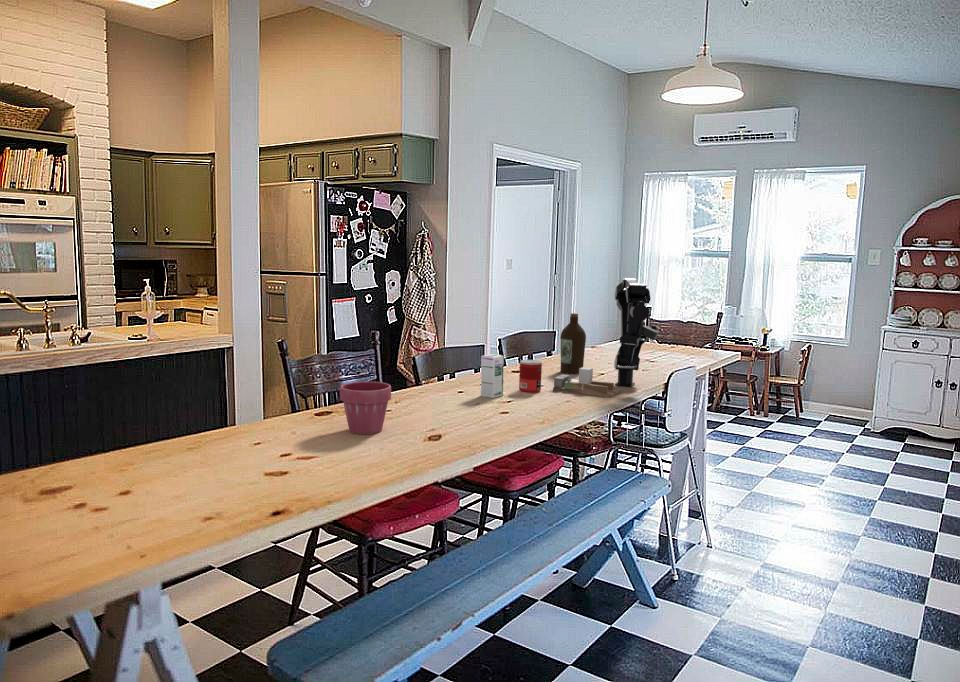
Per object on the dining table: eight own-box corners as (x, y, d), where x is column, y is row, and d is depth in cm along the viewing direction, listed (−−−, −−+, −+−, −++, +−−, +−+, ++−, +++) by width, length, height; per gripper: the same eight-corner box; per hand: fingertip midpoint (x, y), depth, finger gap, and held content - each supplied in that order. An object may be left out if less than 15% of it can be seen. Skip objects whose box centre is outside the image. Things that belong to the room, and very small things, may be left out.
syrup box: (493, 398, 247) (494, 357, 246) (479, 395, 251) (481, 355, 249) (503, 396, 252) (504, 355, 250) (489, 393, 255) (490, 353, 254)
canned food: (541, 393, 258) (542, 363, 257) (519, 392, 259) (520, 362, 257) (540, 389, 266) (541, 359, 265) (518, 388, 266) (519, 359, 265)
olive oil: (572, 369, 312) (574, 312, 308) (589, 373, 303) (592, 314, 300) (553, 371, 305) (556, 312, 302) (570, 375, 297) (573, 315, 294)
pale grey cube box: (570, 384, 270) (571, 365, 269) (592, 387, 266) (593, 368, 265) (564, 387, 263) (564, 368, 262) (586, 390, 259) (587, 370, 258)
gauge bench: (562, 385, 274) (563, 374, 273) (619, 392, 265) (620, 380, 264) (552, 390, 264) (553, 378, 264) (611, 397, 255) (611, 385, 254)
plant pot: (335, 425, 204) (335, 381, 203) (383, 422, 210) (384, 379, 208) (345, 438, 191) (345, 391, 190) (396, 435, 196) (397, 389, 195)
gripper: (651, 322, 249) (649, 366, 251) (663, 317, 265) (660, 359, 267) (620, 319, 253) (618, 363, 256) (633, 315, 270) (631, 356, 272)
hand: (633, 360), depth 263 cm, fingers open, 9 cm apart
